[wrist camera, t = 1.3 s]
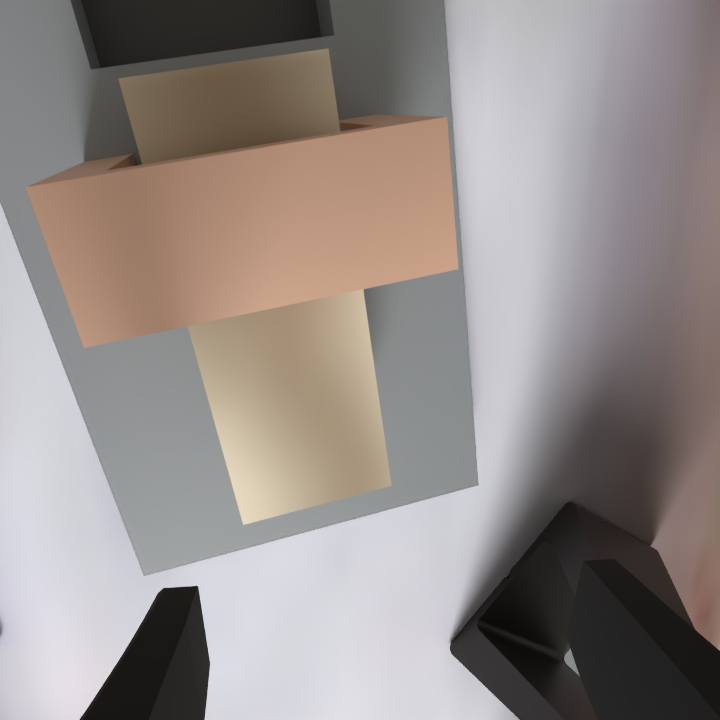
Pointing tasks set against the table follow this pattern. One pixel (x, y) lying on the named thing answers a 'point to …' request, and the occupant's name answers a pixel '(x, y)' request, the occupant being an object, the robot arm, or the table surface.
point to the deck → (174, 347)
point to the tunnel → (248, 226)
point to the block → (277, 325)
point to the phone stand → (550, 616)
